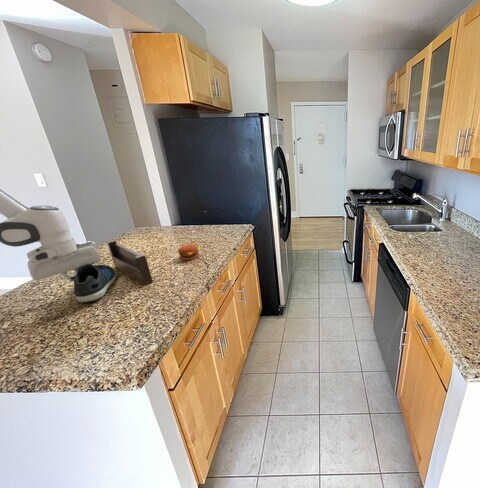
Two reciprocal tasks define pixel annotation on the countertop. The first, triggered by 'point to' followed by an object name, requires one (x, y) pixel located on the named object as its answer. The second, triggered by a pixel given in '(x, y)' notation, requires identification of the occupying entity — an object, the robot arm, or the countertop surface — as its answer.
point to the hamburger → (188, 252)
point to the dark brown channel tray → (130, 262)
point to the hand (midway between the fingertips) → (74, 279)
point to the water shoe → (93, 282)
